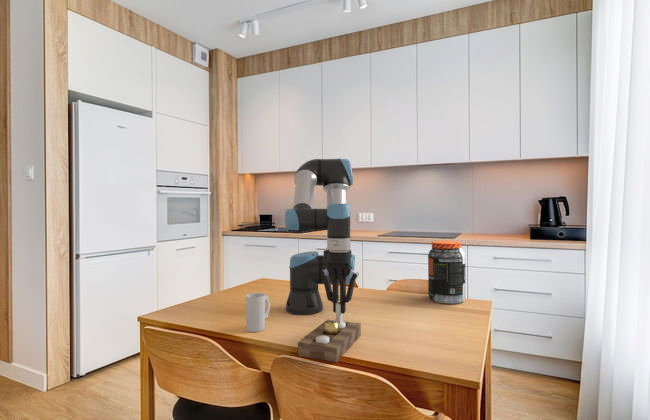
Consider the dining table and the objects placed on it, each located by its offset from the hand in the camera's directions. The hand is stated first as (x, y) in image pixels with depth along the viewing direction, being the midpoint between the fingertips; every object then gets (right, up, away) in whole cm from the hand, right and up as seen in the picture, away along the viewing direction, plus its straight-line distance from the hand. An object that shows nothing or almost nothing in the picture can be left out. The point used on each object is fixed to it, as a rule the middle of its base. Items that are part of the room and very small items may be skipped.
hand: (339, 322), depth 124 cm
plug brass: (-3, -2, -6) cm, 7 cm away
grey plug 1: (-5, -5, -13) cm, 15 cm away
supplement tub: (+49, -3, +44) cm, 66 cm away
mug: (-28, -5, +10) cm, 30 cm away
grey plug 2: (0, -4, 0) cm, 4 cm away
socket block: (-3, -5, -6) cm, 9 cm away
